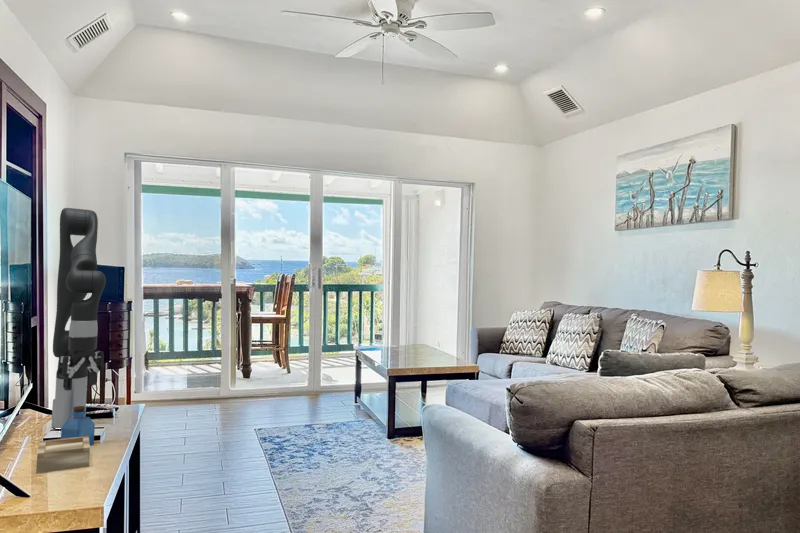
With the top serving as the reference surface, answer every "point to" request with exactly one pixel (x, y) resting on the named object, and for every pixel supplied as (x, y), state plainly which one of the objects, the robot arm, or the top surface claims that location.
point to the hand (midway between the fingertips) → (80, 387)
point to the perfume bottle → (78, 425)
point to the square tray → (63, 454)
